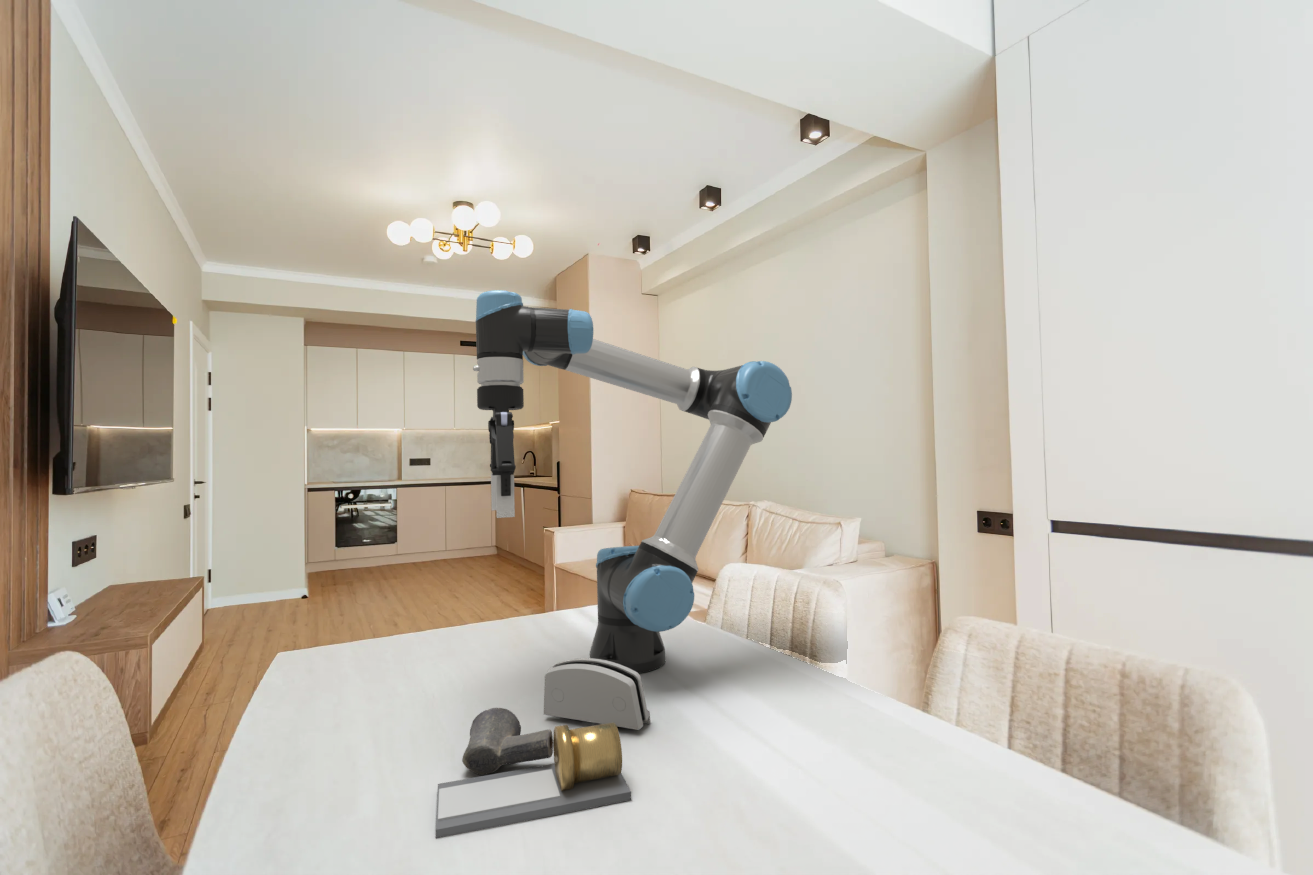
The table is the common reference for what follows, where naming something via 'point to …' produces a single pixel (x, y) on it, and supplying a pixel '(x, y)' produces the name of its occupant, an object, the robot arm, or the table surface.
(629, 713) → the grey napkin holder
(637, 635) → the robot arm
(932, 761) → the table surface
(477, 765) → the pipe
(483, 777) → the base
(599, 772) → the cylinder
